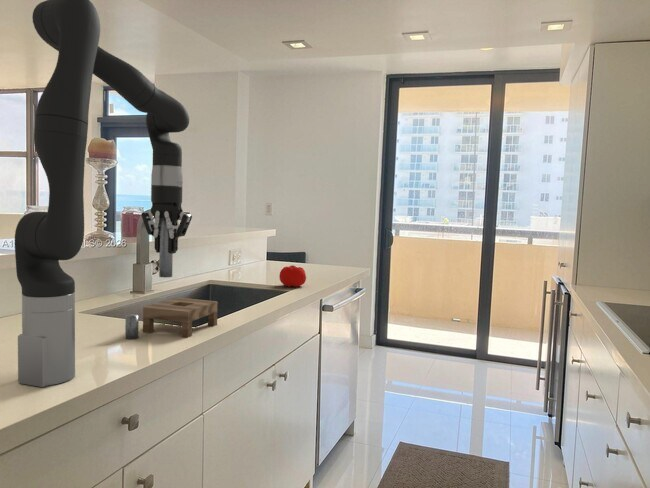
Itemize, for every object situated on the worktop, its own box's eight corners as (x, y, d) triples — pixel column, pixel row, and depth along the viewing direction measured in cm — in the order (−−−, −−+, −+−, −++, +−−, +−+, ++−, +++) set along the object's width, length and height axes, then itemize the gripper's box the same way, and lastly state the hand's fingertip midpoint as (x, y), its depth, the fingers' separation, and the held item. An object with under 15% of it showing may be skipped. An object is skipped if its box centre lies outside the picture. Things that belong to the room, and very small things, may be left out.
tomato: (305, 288, 222) (305, 268, 221) (277, 287, 222) (278, 267, 222) (306, 284, 233) (307, 265, 232) (280, 283, 233) (280, 264, 232)
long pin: (167, 277, 128) (168, 218, 127) (156, 276, 129) (157, 217, 128) (174, 276, 131) (175, 217, 130) (164, 275, 132) (164, 217, 131)
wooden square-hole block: (187, 337, 136) (188, 311, 136) (142, 332, 140) (143, 306, 140) (217, 324, 151) (217, 301, 151) (175, 320, 155) (176, 297, 155)
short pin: (133, 339, 132) (133, 317, 132) (122, 338, 133) (122, 315, 133) (140, 337, 135) (141, 314, 135) (130, 335, 136) (130, 313, 136)
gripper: (133, 183, 127) (133, 252, 128) (183, 184, 123) (182, 255, 124) (151, 184, 134) (151, 250, 135) (199, 185, 130) (198, 253, 131)
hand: (166, 252), depth 130 cm, fingers closed on long pin, 3 cm apart
